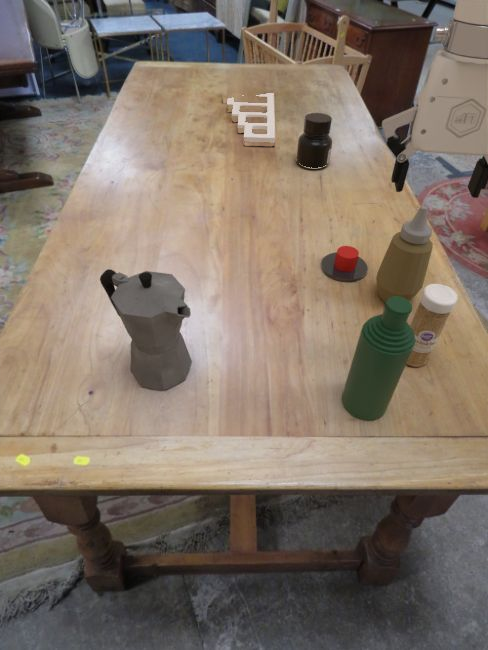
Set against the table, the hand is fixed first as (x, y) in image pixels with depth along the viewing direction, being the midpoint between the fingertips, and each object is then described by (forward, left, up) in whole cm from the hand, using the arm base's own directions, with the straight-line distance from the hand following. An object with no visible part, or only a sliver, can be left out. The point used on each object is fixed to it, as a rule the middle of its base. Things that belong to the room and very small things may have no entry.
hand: (434, 190), depth 58 cm
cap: (+8, -13, -23) cm, 28 cm away
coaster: (+8, -13, -24) cm, 29 cm away
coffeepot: (+37, +17, -24) cm, 47 cm away
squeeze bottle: (-1, -6, -24) cm, 25 cm away
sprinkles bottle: (-3, +8, -24) cm, 26 cm away
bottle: (+5, +18, -24) cm, 31 cm away
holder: (+38, -89, -24) cm, 100 cm away
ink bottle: (+16, -59, -24) cm, 66 cm away
